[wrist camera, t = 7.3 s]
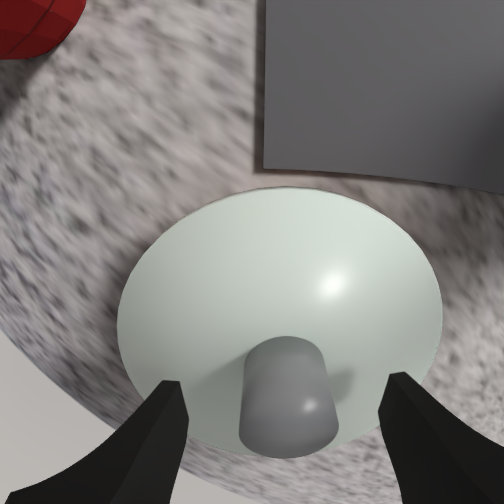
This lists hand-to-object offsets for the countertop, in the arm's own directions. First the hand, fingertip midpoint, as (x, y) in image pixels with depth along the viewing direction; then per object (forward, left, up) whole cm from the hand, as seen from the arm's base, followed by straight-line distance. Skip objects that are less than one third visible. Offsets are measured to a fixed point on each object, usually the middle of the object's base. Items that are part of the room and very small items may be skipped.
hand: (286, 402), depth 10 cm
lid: (0, 0, -2) cm, 2 cm away
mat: (-7, -15, -6) cm, 18 cm away
